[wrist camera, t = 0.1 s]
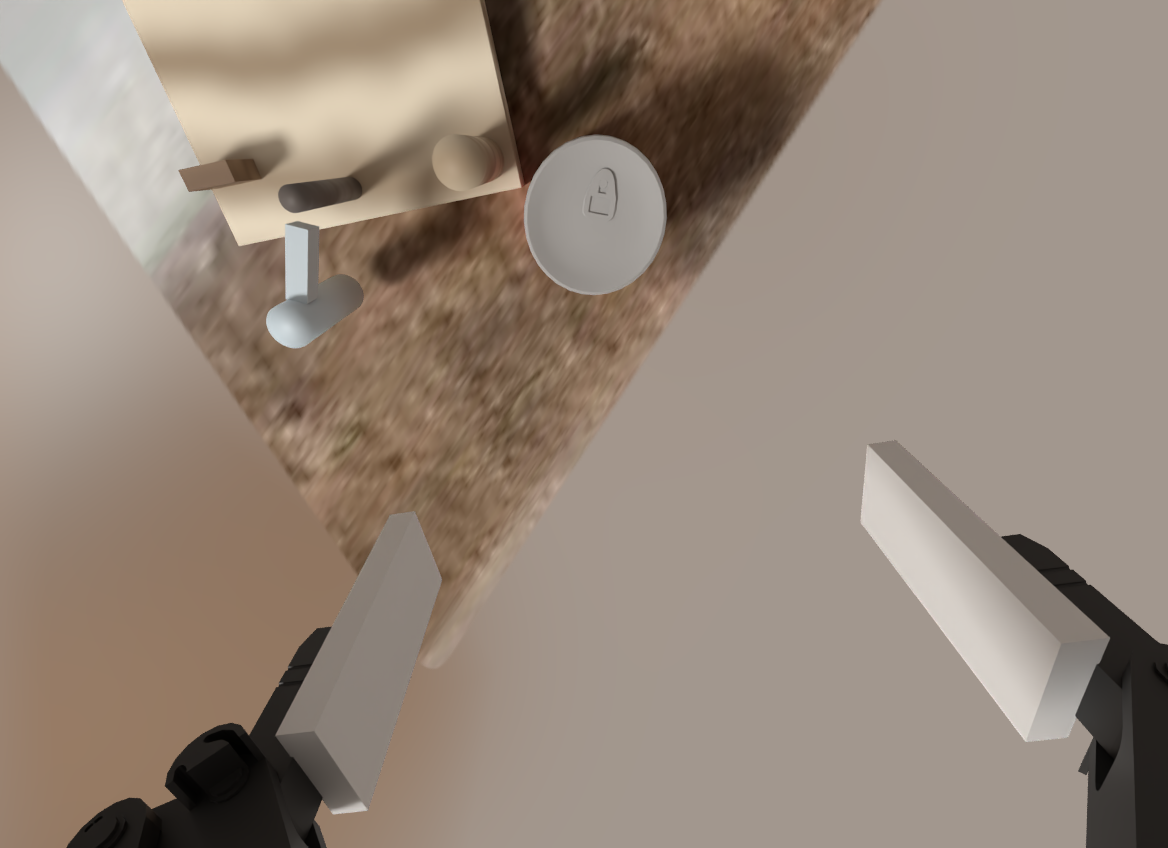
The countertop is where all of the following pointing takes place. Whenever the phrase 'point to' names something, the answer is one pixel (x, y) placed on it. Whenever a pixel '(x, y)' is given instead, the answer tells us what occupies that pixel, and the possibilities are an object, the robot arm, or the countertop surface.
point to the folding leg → (309, 292)
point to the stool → (332, 106)
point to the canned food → (595, 214)
